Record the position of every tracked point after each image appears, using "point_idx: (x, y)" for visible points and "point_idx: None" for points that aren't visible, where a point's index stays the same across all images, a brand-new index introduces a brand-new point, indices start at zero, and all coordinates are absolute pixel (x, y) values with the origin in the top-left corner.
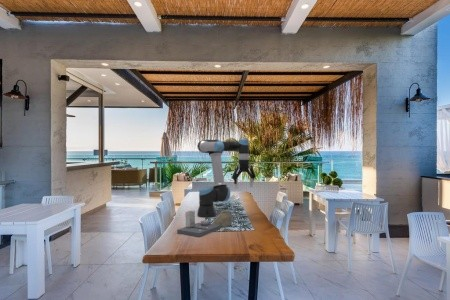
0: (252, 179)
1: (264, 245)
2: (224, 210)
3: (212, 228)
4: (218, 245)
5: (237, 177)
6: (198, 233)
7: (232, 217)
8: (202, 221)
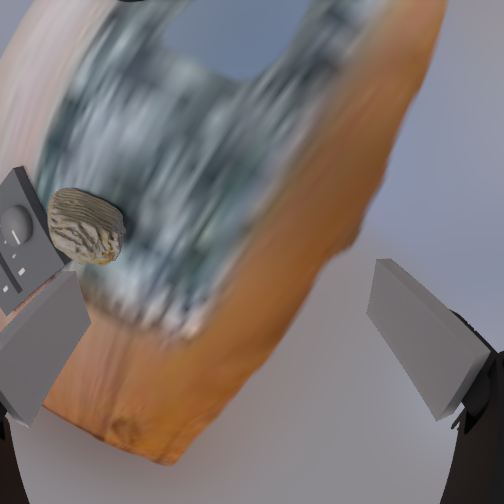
0: (438, 404)
1: (147, 434)
2: (60, 247)
3: (36, 288)
4: (53, 386)
5: (8, 458)
6: (5, 312)
7: (116, 257)
8: (5, 222)
